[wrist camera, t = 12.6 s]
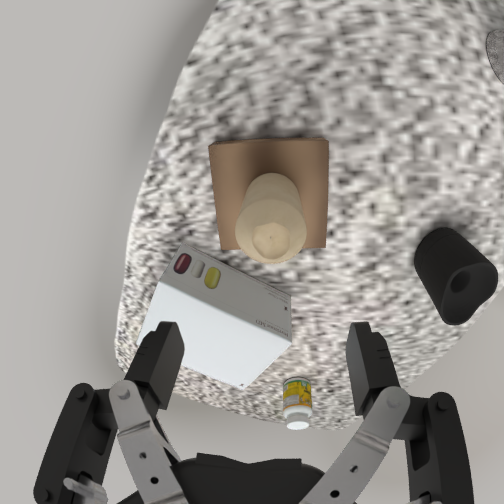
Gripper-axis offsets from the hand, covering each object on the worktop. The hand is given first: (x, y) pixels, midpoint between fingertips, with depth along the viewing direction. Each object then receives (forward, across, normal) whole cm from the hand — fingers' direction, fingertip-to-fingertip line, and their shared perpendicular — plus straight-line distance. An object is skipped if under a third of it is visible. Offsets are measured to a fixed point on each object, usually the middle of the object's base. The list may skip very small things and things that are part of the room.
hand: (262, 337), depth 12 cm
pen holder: (+22, -24, +9) cm, 34 cm away
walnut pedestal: (+22, 0, 0) cm, 22 cm away
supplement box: (+22, +8, +16) cm, 29 cm away
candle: (+19, 0, 0) cm, 19 cm away
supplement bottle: (+22, -4, +38) cm, 44 cm away
